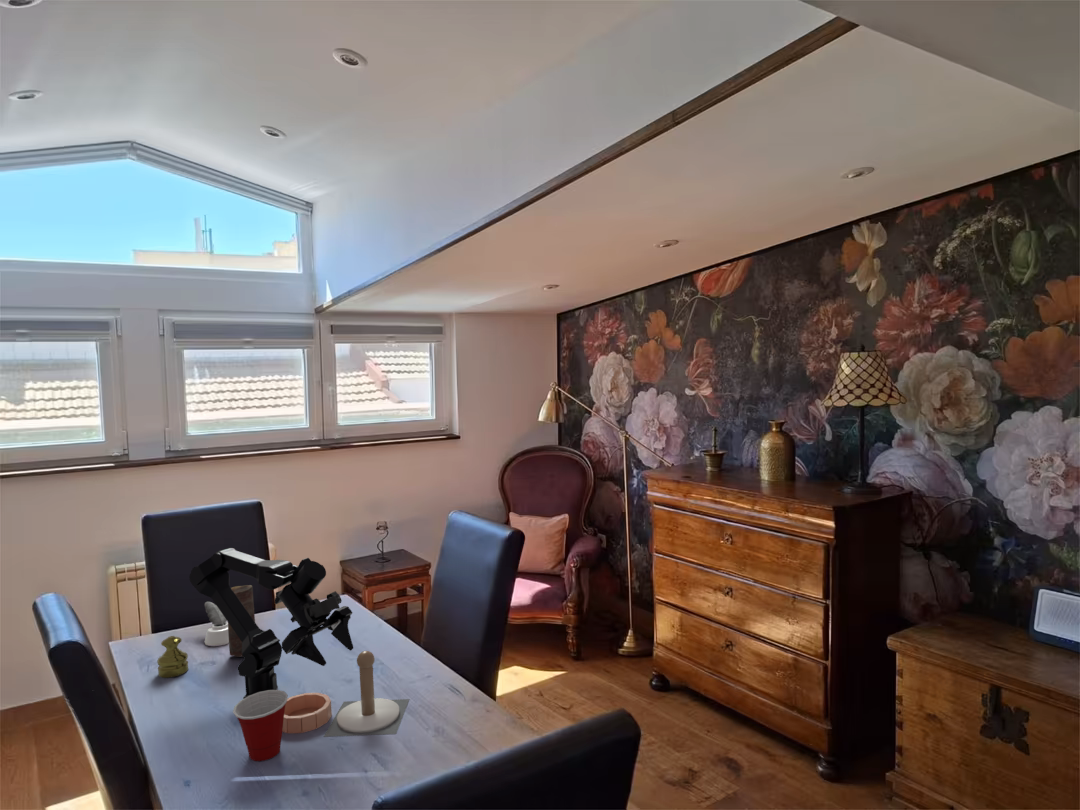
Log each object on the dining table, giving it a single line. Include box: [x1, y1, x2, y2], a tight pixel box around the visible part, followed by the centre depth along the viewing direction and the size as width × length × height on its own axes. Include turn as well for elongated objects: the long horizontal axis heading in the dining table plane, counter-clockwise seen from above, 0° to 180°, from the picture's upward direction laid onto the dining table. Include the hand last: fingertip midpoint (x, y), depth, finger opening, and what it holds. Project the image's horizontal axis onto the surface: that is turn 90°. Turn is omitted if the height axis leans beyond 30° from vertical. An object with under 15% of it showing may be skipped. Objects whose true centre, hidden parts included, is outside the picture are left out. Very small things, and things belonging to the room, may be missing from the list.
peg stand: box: [337, 650, 399, 733], centre depth 160 cm, size 14×14×16 cm
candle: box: [228, 584, 256, 658], centre depth 200 cm, size 8×7×20 cm
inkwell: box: [204, 601, 229, 647], centre depth 215 cm, size 9×18×10 cm, turn 46°
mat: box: [323, 698, 410, 738], centre depth 161 cm, size 16×16×1 cm
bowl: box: [282, 692, 333, 734], centre depth 161 cm, size 12×12×4 cm
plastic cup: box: [232, 689, 289, 762], centre depth 146 cm, size 11×11×12 cm
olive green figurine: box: [156, 635, 189, 679], centre depth 190 cm, size 7×7×10 cm
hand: (338, 656), depth 163 cm, fingers open, 9 cm apart
